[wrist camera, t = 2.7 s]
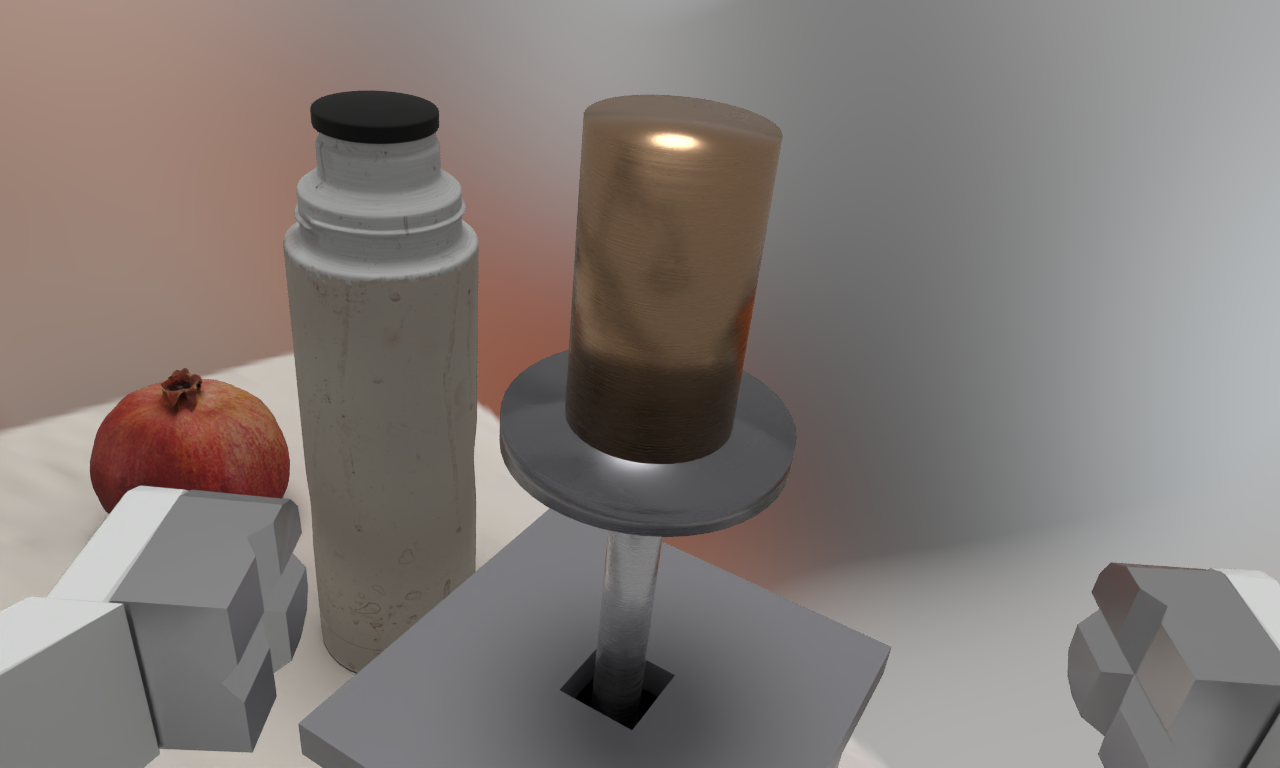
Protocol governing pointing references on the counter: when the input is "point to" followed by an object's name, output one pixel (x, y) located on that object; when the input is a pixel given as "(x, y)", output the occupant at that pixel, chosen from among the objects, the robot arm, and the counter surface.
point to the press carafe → (565, 663)
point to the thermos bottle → (384, 368)
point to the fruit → (189, 442)
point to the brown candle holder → (655, 359)
